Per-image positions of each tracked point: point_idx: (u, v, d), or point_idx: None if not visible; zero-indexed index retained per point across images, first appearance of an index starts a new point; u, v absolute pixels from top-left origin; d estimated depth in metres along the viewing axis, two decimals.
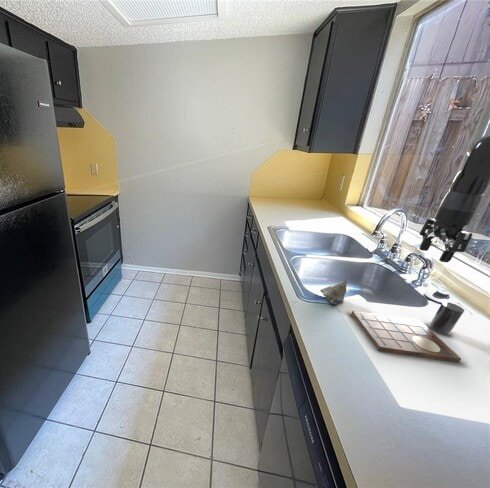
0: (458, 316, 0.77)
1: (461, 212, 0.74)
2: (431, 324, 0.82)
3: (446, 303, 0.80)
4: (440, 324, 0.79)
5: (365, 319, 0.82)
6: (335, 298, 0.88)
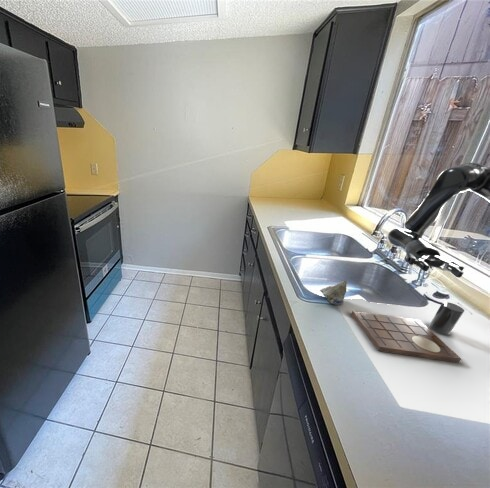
0: (458, 316, 0.77)
1: None
2: (431, 324, 0.82)
3: (446, 303, 0.80)
4: (440, 324, 0.79)
5: (365, 319, 0.82)
6: (335, 298, 0.88)
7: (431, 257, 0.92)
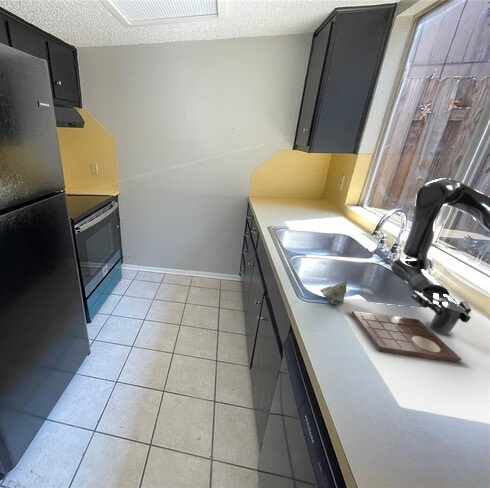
0: (458, 316, 0.77)
1: (414, 290, 0.92)
2: (431, 324, 0.82)
3: (446, 303, 0.80)
4: (440, 324, 0.79)
5: (365, 319, 0.82)
6: (335, 298, 0.88)
7: (439, 296, 0.85)
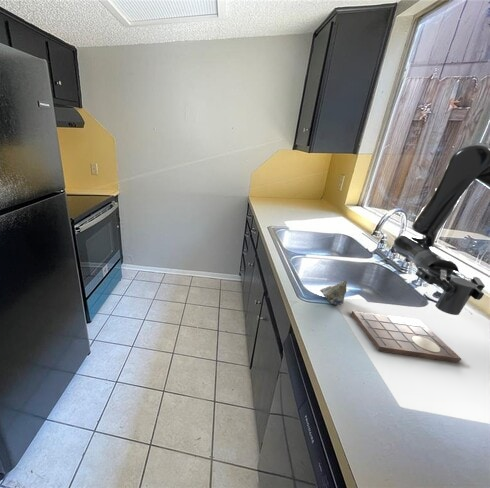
0: (469, 292, 0.67)
1: (419, 267, 0.82)
2: (438, 303, 0.72)
3: (455, 278, 0.70)
4: (449, 302, 0.69)
5: (365, 319, 0.82)
6: (335, 298, 0.88)
7: (447, 272, 0.75)
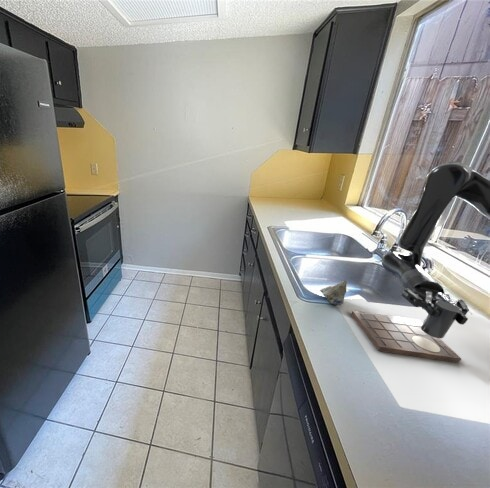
0: (453, 317, 0.67)
1: (405, 287, 0.82)
2: (423, 326, 0.72)
3: (440, 302, 0.70)
4: (434, 326, 0.70)
5: (365, 319, 0.82)
6: (335, 298, 0.88)
7: (433, 294, 0.75)
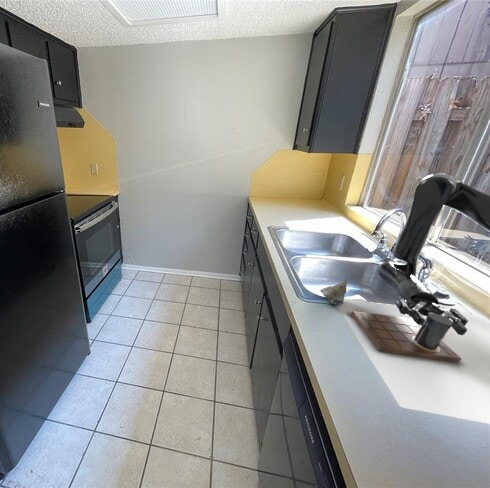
0: (446, 329, 0.69)
1: None
2: (417, 337, 0.74)
3: (433, 314, 0.72)
4: (426, 337, 0.71)
5: (365, 319, 0.82)
6: (335, 298, 0.88)
7: (427, 305, 0.76)
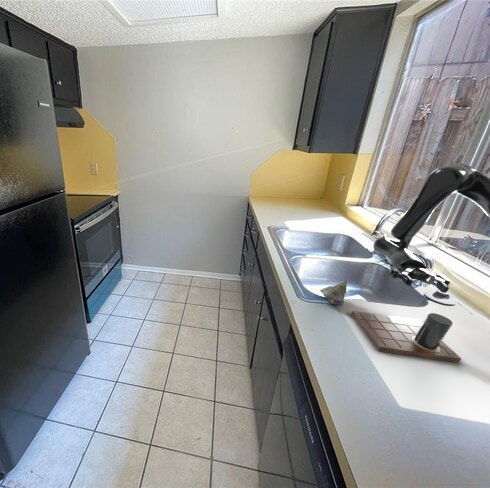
0: (446, 329, 0.69)
1: None
2: (417, 337, 0.74)
3: (433, 314, 0.72)
4: (426, 337, 0.71)
5: (365, 319, 0.82)
6: (335, 298, 0.88)
7: (416, 270, 0.86)
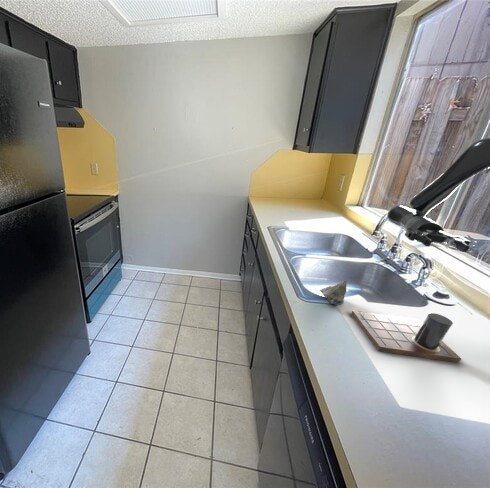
0: (446, 329, 0.69)
1: None
2: (417, 337, 0.74)
3: (433, 314, 0.72)
4: (426, 337, 0.71)
5: (365, 319, 0.82)
6: (335, 298, 0.88)
7: (434, 232, 0.85)
